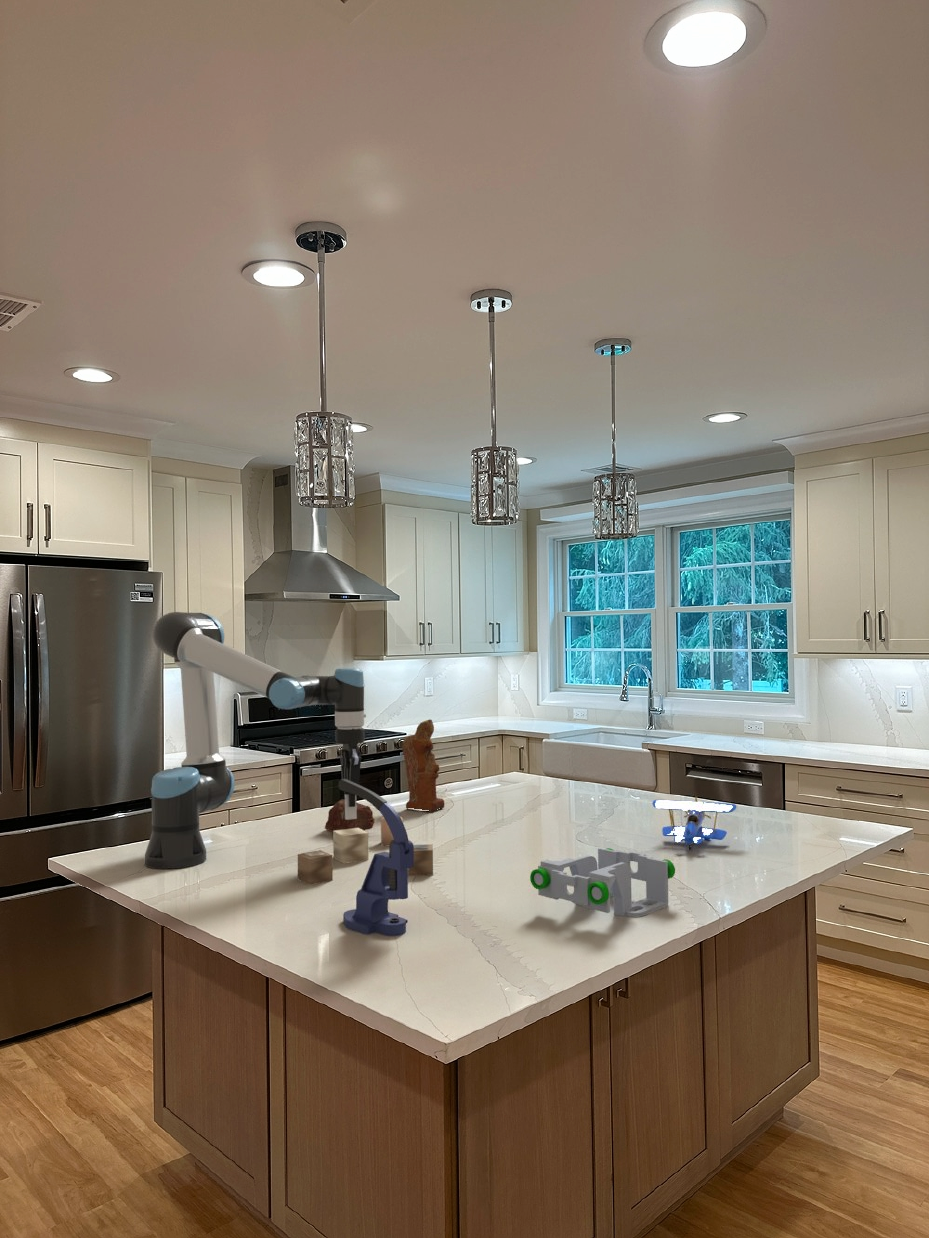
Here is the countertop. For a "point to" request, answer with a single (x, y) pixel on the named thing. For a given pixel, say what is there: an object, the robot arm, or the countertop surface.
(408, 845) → the hand press
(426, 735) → the sculpture
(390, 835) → the peach rounded cylinder
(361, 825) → the rock
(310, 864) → the walnut block
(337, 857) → the maple block
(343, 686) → the robot arm
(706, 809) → the airplane toy
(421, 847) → the walnut block
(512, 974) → the countertop surface
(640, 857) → the bracket
